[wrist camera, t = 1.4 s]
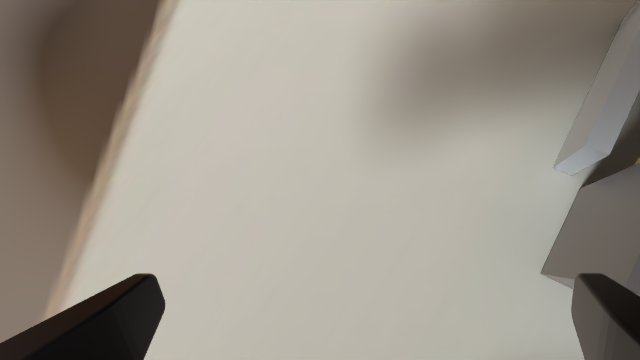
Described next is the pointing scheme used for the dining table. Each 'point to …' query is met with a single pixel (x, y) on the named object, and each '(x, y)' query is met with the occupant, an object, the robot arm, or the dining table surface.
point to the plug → (601, 232)
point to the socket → (606, 100)
